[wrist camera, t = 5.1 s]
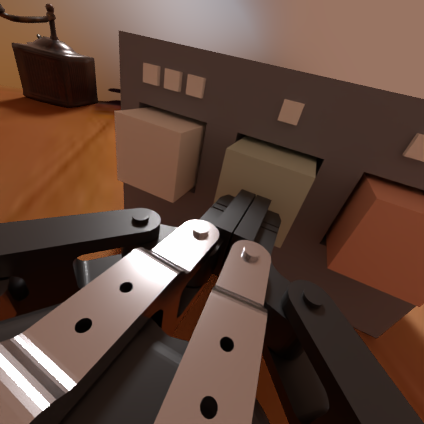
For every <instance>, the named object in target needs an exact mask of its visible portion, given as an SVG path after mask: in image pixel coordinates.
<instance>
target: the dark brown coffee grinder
mask: <svg viewBox="0 0 424 424" xmlns="http://www.w3.org/2000/svg"><path fill="white" fill-rule="evenodd" d="M46 9H47V14H46V15H47V16H43V17H22V16H14V15H9V14H6V13H4V12H5V9H4V8H3V7H2V6H1V4H0V16H1V17H3V18H6V19H8V20H10V21H13V22H20V23H43V22H48V21H49V24H50V30H51V36H50V38H49V37H41V36H40V35H39V34H37V37H38V39H37V40H35V41H34V42H27V44H19V43H12V48H13V51H14V55H15V59H16V63H17V67H18V71H19V75H20V79H21V83H22V88H23V95H24V96H26V97H29V98H31V99H34V100H38V101H42V102H45V103H49V104H53V105H57V106H61V107H66V108H73V107H80V106H85V105H90V104H94V103H98V98H97V87H96V75H95V63H94V58H92V57H87V56H84V55H80V54H77V53H76V52H74V50H73V49H72V48H71V47H69V46H68V45H66V44H65V43H64V42H61V41H59V39H58V37H57V36H56V30H55V22H54V20H55V19H56V17H55V15H54V8H53V6H52V5H51V4H46Z"/></svg>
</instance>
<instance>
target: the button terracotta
mask: <svg viewBox="0 0 424 424" xmlns="http://www.w3.org/2000/svg"><path fill="white" fill-rule="evenodd" d="M326 245H327V268H328V269H330V270H333V271H335V272H338V273H340V274H342V275H345V276H347V277H349V278H352V279H354V280H356V281H359V282H361V283H364V284H366V285H368V286H371V287H373V288H375V289H378V290H380V291H382V292H385V293H387V294H390V295H392V296H394V297H397V298H399V299H401V300H404V301H406V302H409V303H411V304H413V305H416V306H418V307H420V306H421V305H423V304H424V190H421V189H418V188H415V187H411V186H408V185H405V184H402V183H399V182H395V181H392V180H389V179H386V178H383V177H379V176H376V175H373V174H370V173H366V172H364V173H363V175H362V176H361V178H360V180H359V181H358V183H357V184H356V186H355V187H354V189H353V191H352V192H351V194H350V195H349V197H348V199H347V200H346V202H345V203H344V205H343V207H342V208H341V210H340V211H339V213H338V215H337V216H336V218H335V219H334V221H333V223H332V224H331V226H330V227H329V229H328V231H327V232H326Z"/></svg>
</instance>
